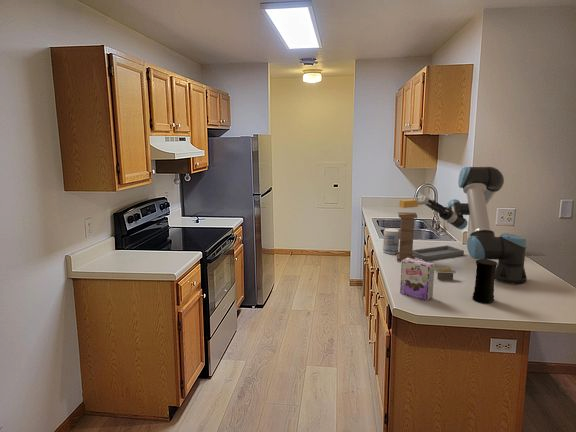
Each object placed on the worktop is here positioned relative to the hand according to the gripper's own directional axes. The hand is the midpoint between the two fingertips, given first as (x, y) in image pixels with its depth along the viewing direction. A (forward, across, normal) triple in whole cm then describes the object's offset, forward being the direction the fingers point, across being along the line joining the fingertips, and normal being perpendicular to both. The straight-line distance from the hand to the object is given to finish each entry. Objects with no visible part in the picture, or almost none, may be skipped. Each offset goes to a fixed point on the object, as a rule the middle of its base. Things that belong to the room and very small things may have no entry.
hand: (422, 197), depth 246 cm
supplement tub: (-11, +17, -36) cm, 42 cm away
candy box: (+19, -48, -54) cm, 74 cm away
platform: (-6, -36, -40) cm, 54 cm away
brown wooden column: (-9, 0, -37) cm, 38 cm away
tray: (-30, 0, -25) cm, 39 cm away
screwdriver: (0, 0, -6) cm, 6 cm away
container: (-2, -65, -42) cm, 77 cm away
